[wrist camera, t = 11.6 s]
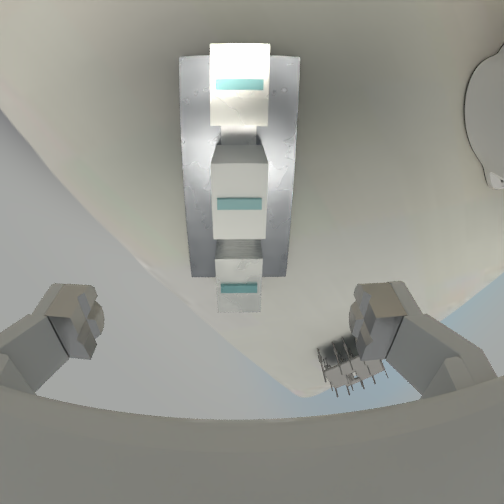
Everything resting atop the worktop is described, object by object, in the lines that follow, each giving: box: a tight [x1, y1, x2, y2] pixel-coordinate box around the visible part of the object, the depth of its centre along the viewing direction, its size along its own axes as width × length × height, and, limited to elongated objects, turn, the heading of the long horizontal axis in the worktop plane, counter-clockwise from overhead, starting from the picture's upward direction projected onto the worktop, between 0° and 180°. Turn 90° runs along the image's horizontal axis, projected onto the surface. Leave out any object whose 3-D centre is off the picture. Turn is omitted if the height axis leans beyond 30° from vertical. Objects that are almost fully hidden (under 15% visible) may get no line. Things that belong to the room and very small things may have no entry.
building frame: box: [317, 337, 388, 397], centre depth 41 cm, size 6×8×6 cm
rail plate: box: [179, 43, 300, 312], centre depth 26 cm, size 10×23×6 cm, turn 179°
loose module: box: [211, 145, 269, 239], centre depth 26 cm, size 4×6×6 cm, turn 179°
